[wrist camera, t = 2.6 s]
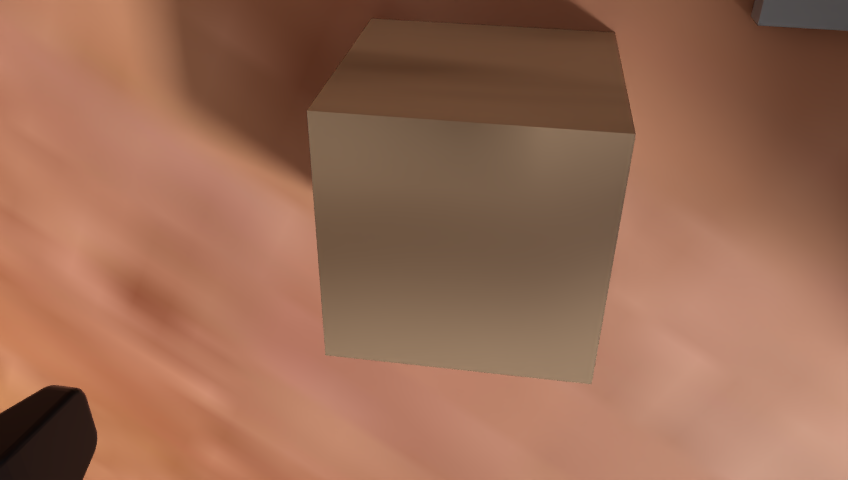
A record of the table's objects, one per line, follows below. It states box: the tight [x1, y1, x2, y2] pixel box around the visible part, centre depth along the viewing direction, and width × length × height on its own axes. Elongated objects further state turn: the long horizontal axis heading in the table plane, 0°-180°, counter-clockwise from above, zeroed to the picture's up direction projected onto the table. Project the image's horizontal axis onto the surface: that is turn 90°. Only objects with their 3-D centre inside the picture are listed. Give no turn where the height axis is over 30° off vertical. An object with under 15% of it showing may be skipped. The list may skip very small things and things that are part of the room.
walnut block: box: [307, 18, 636, 384], centre depth 15 cm, size 5×5×5 cm
